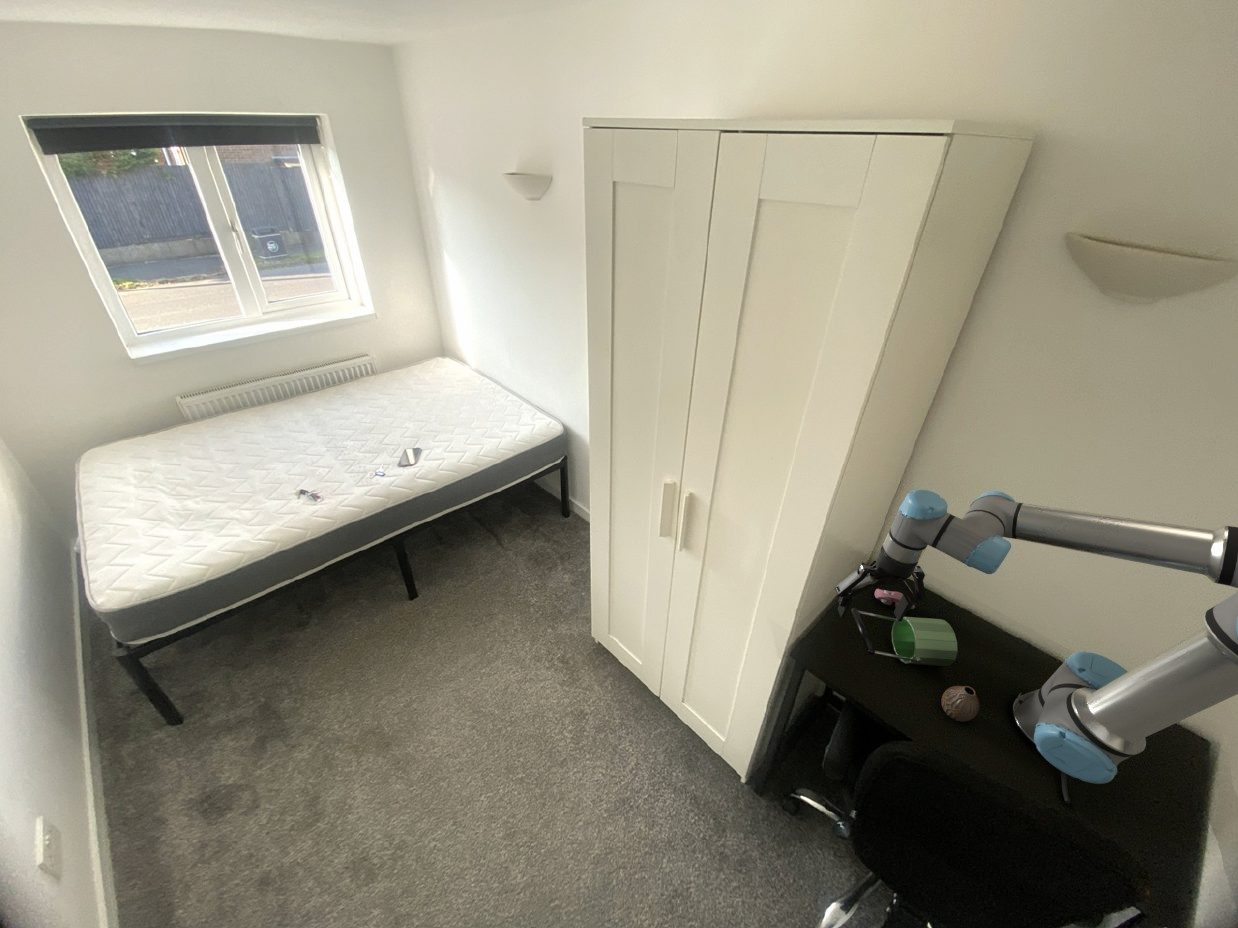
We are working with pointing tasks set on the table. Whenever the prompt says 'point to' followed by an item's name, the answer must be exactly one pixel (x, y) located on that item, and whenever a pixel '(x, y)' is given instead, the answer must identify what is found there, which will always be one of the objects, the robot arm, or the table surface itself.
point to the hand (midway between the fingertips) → (869, 615)
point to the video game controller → (889, 597)
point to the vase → (960, 703)
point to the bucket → (915, 640)
